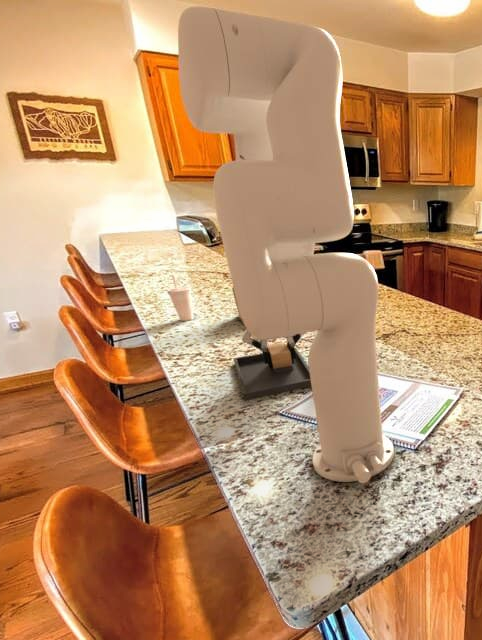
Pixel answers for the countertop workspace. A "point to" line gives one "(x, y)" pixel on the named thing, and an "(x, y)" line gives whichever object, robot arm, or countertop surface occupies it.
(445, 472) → the countertop surface
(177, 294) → the smoothie
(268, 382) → the tray
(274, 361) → the wooden block
